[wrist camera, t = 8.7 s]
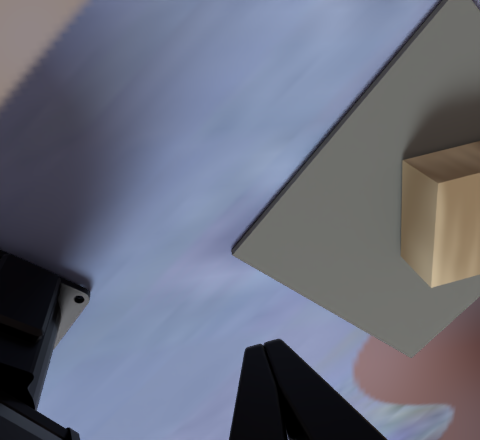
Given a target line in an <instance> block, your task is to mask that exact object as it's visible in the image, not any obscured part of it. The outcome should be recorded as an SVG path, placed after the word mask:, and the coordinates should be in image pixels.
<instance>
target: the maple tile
mask: <svg viewBox="0 0 480 440" xmlns="http://www.w3.org/2000/svg"><path fill="white" fill-rule="evenodd" d="M401 257H402V258H403V259H404V260H405V261H406V262H407V263H408V264H409V265H410V266H411V268H412V269H413V270H414V271H415V272H416V273H417V274H418V275H419V276H420V277H421V278H422V279H423V280H424V281H425V282H426V283H427V284H428V285H429V286H430V287H431V288H433V287H436V286H440V285H443V284H447V283H451V282H454V281H458V280H462V279H465V278H469V277H472V276H476V275H480V141H478V142H474V143H470V144H466V145H462V146H457V147H453V148H449V149H445V150H441V151H437V152H433V153H429V154H425V155H421V156H417V157H413V158H409V159H405V160H403V162H402V214H401Z"/></svg>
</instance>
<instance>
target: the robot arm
mask: <svg viewBox="0 0 480 440" xmlns="http://www.w3.org/2000/svg"><path fill="white" fill-rule="evenodd" d="M76 296H82V297H84V298H81V299H79V298H77V297H76ZM89 300H90V292H89V290H88V289H86V288H84V287H82V286H80V285H77V284H75V283H73V282H71V281H68V280H66V279H64V278H62V277H60V276H58V275H57V274H55V273H52V272H50V271H48V270H46V269H43V268H41V267H39V266H37V265H34V264H32V263H30V262H28V261H26V260H23V259H21V258H19V257H17V256H14V255H12V254H8V253H6V252H3V251H1V250H0V440H80V437H79V434H78V433H77V432H76V431H74V430H72V429H71V428H66V429H65V428H64V427H62V426H61V425H59V424H57V423H56V422H54V421H52V420H51V419H49V418H47V417H46V416H44V415H42V414H41V413H39V412H38V411H37V407H38V404H39V400H40V396H41V392H42V389H43V385H44V381H45V378H46V374H47V370H48V367H49V363H50V359H51V356H52V352H53V350H54V348H55V347H56V346H57V344H58V343H59V342H60V340H61V339H62V338H63V336H64V335H65V334H66V332H67V331H68V330H69V328H70V327H71V326H72V324H73V323H74V322H75V320H76V319H77V318H78V316H79V315H80V314H81V312H82V311H83V310H84V308H85V307H86V306H87V304H88V303H89ZM287 436H288V437H287ZM288 439H289V440H387V439H386V438H385V437H384V436H383V435H382V434H381V433H380V432H379V431H378V430H377V429H376V428H375V427H374V426H373V425H371V424H370V423H369V422H368V421H367V420H366V419H365V418H364V417H363V416H362V415H361V414H360V413H359V412H358V411H357V410H356V409H354V408H353V407H352V406H351V405H350V404H349V403H348V402H347V401H346V400H345V399H344V398H343V397H342V396H341V395H340V394H339V393H338V392H336V391H335V390H334V389H333V388H332V387H331V386H330V385H329V384H328V383H327V382H326V381H325V380H324V379H323V378H322V377H321V376H320V375H318V374H317V373H316V372H315V371H314V370H313V369H312V368H311V367H310V366H309V365H308V364H307V363H306V362H305V361H304V360H303V359H302V358H300V357H299V356H298V355H297V354H296V353H295V352H294V351H293V350H292V349H291V348H290V347H289V346H288V345H287V344H286V343H285V342H284V341H282V340H281V339H275V340H272V341H268V342H265V343H264V345H262V344H257V345H254V346H250V347H247V348H246V349H245V352H244V357H243V363H242V369H241V374H240V380H239V386H238V391H237V397H236V403H235V408H234V414H233V420H232V425H231V431H230V437H229V440H288Z"/></svg>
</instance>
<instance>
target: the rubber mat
mask: <svg viewBox="0 0 480 440" xmlns="http://www.w3.org/2000/svg"><path fill="white" fill-rule="evenodd" d="M478 141H480V10H479V9H478V8H477V6H476V5H475V4H474V3H473V1H472V0H442V1H441V3H440V4H439V5H438V6H437V7H436V9H435V10H434V11H433V12H432V13H431V15H430V16H429V17H428V18H427V19H426V20H425V22H424V23H423V24H422V25H421V26H420V28H419V29H418V30H417V31H416V32H415V34H414V35H413V36H412V37H411V38H410V39H409V41H408V42H407V43H406V44H405V45H404V47H403V48H402V49H401V50H400V51H399V53H398V54H397V55H396V56H395V57H394V58H393V60H392V61H391V62H390V63H389V64H388V66H387V67H386V68H385V69H384V70H383V71H382V73H381V74H380V75H379V76H378V77H377V79H376V80H375V81H374V82H373V83H372V85H371V86H370V87H369V88H368V89H367V90H366V92H365V93H364V94H363V95H362V96H361V98H360V99H359V100H358V101H357V102H356V104H355V105H354V106H353V107H352V108H351V109H350V111H349V112H348V113H347V114H346V115H345V117H344V118H343V119H342V120H341V121H340V123H339V124H338V125H337V126H336V127H335V128H334V130H333V131H332V132H331V133H330V134H329V136H328V137H327V138H326V139H325V140H324V142H323V143H322V144H321V145H320V146H319V147H318V149H317V150H316V151H315V152H314V153H313V155H312V156H311V157H310V158H309V159H308V161H307V162H306V163H305V164H304V165H303V166H302V168H301V169H300V170H299V171H298V172H297V174H296V175H295V176H294V177H293V178H292V180H291V181H290V182H289V183H288V184H287V185H286V187H285V188H284V189H283V190H282V191H281V193H280V194H279V195H278V196H277V197H276V199H275V200H274V201H273V202H272V203H271V204H270V206H269V207H268V208H267V209H266V210H265V212H264V213H263V214H262V215H261V216H260V218H259V219H258V220H257V221H256V222H255V223H254V225H253V226H252V227H251V228H250V229H249V231H248V232H247V233H246V234H245V235H244V237H243V238H242V239H241V240H240V241H239V242H238V244H237V245H236V246H235V247H234V248H233V250H232V251H231V252H232V255H233V256H235V257H236V258H238V259H240V260H242V261H243V262H245V263H247V264H249V265H250V266H252V267H254V268H256V269H257V270H259V271H261V272H262V273H264V274H266V275H268V276H269V277H271V278H273V279H275V280H276V281H278V282H280V283H282V284H283V285H285V286H287V287H289V288H290V289H292V290H294V291H295V292H297V293H299V294H301V295H302V296H304V297H306V298H308V299H309V300H311V301H313V302H315V303H316V304H318V305H320V306H322V307H323V308H325V309H327V310H329V311H330V312H332V313H334V314H335V315H337V316H339V317H341V318H342V319H344V320H346V321H348V322H349V323H351V324H353V325H355V326H356V327H358V328H360V329H362V330H363V331H365V332H367V333H368V334H370V335H372V336H374V337H375V338H377V339H379V340H381V341H382V342H384V343H386V344H388V345H389V346H391V347H393V348H395V349H396V350H398V351H400V352H401V353H403V354H405V355H407V356H408V357H410V358H412V357H413V356H414V355H415V354H417V353H418V352H419V351H420V350H421V349H422V348H423V347H424V346H425V345H426V344H428V343H429V342H430V341H431V340H432V339H433V338H434V337H435V336H436V335H438V334H439V333H440V332H441V331H442V330H443V329H444V328H445V327H446V326H447V325H449V324H450V323H451V322H452V321H453V320H454V319H455V318H456V317H457V316H459V315H460V314H461V313H462V312H463V311H464V310H465V309H466V308H467V307H468V306H470V305H471V304H472V303H473V302H474V301H475V300H476V299H477V298H478V297H479V296H480V275H476V276H472V277H469V278H465V279H462V280H458V281H454V282H451V283H447V284H443V285H440V286H436V287H433V288H431V287H430V286H429V285H428V284H427V283H426V282H425V281H424V280H423V279H422V278H421V277H420V276H419V275H418V274H417V273H416V272H415V271H414V270H413V269H412V268H411V266H410V265H409V264H408V263H407V262H406V261H405V260H404V259H403V258H402V257H401V214H402V162H403V160H405V159H409V158H413V157H417V156H421V155H425V154H429V153H433V152H437V151H441V150H445V149H449V148H453V147H457V146H462V145H466V144H470V143H474V142H478Z"/></svg>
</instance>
